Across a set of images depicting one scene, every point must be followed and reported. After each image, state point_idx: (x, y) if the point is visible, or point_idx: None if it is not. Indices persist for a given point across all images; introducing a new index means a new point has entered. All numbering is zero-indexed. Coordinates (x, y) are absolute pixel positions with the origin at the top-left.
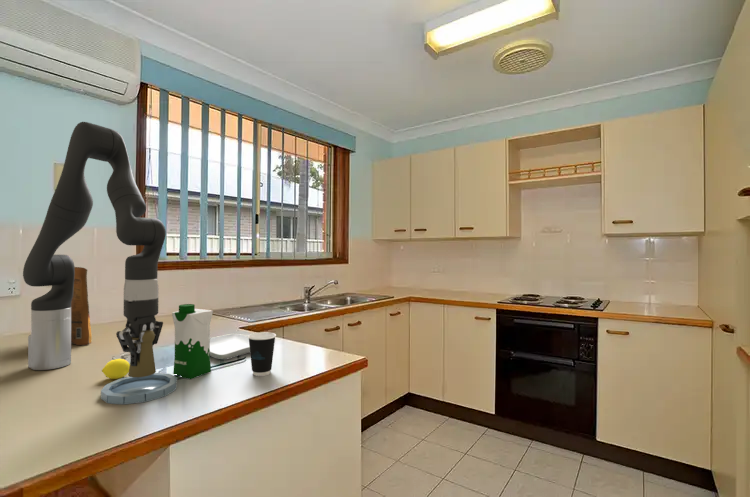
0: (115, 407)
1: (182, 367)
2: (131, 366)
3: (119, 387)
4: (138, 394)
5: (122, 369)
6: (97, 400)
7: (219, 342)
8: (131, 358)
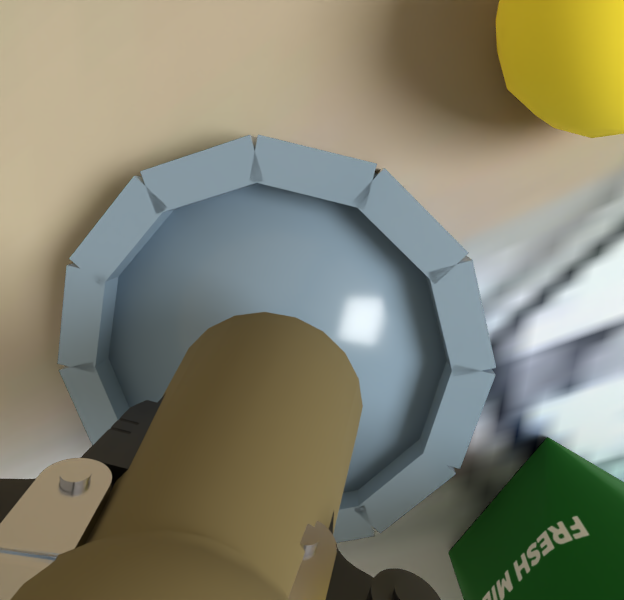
0: (49, 325)
1: (490, 565)
2: (165, 391)
3: (281, 221)
4: (95, 428)
5: (540, 109)
6: (131, 170)
7: None
8: (101, 445)
